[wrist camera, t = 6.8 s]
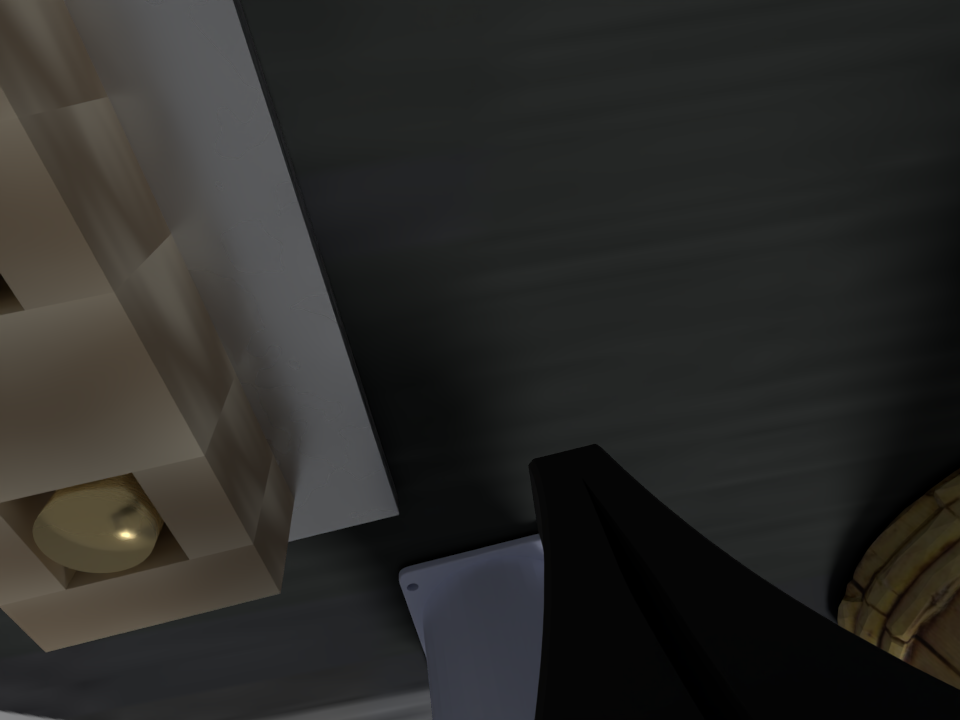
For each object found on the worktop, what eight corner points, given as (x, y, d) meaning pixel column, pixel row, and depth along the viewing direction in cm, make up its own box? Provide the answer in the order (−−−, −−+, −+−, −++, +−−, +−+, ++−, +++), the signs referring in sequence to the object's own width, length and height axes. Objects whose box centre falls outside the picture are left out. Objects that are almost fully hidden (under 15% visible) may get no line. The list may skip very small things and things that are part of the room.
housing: (294, 500, 20) (280, 593, 17) (100, 546, 20) (45, 652, 16) (54, -20, 12) (-70, -42, 8) (-297, 36, 11) (-582, 35, 8)
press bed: (397, 496, 22) (399, 514, 22) (45, 581, 21) (31, 603, 20) (191, -154, 12) (179, -168, 11) (-529, -51, 11) (-605, -58, 10)
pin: (204, 471, 18) (173, 558, 15) (119, 491, 18) (69, 583, 15) (167, 405, 17) (123, 486, 14) (74, 425, 17) (8, 513, 14)
